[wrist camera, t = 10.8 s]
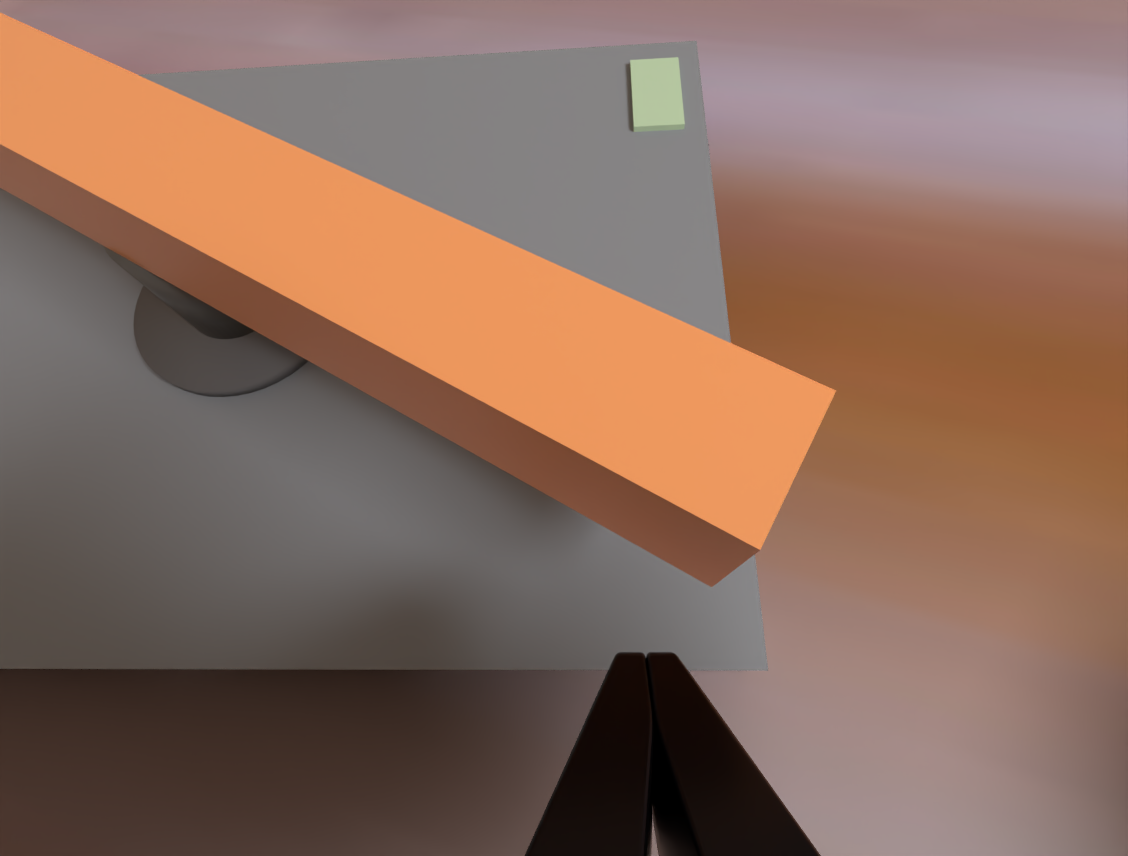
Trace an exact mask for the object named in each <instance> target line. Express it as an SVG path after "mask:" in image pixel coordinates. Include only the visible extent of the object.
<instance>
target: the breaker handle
mask: <svg viewBox="0 0 1128 856" xmlns="http://www.w3.org/2000/svg"><path fill="white" fill-rule="evenodd" d="M0 188H1V189H3V190H5V191H7V192H9V193H10V194H12V195H14V196H16V197H18V198H19V199H21V200H23V201H25V202H26V203H28V204H30V205H32V206H34V207H35V208H37V209H39V210H41V211H42V212H44V213H46V214H48V215H50V216H51V217H53V218H55V219H57V220H58V221H60V222H62V223H64V224H66V225H67V226H69V227H71V228H73V229H74V230H76V231H78V232H80V233H82V234H83V235H85V236H87V237H89V238H91V239H92V240H94V241H96V242H98V243H99V244H101V245H103V246H104V248H105V250H106V252H107V254H108V255H109V257H111V258H112V259H113V260H114V261H115V262H116V263H117V264H118V265H120V266H121V267H122V268H123V269H124V270H126V271H127V272H128V273H129V274H130V275H132V276H133V277H134V278H135V279H136V280H138V281H139V282H140V283H141V284H143V285H144V286H145V287H146V288H147V289H149V290H150V291H151V292H152V293H153V294H155V295H156V296H157V297H158V298H159V299H161V300H162V301H163V302H164V303H166V304H167V305H168V306H169V307H170V308H172V309H173V310H174V311H175V312H176V313H178V314H179V315H180V316H181V317H182V318H184V319H185V320H186V321H187V322H188V323H190V324H191V325H192V326H193V327H195V328H196V329H197V330H198V331H199V332H201V333H202V334H204V335H206V336H208V337H211V338H216V339H234V338H239V337H242V336H245V335H247V334H250V333H252V332H254V331H256V332H258V333H260V334H261V335H263V336H265V337H267V338H269V339H270V340H272V341H274V342H276V343H277V344H279V345H281V346H283V347H285V348H286V349H288V350H290V351H292V352H293V353H295V354H297V355H299V356H301V357H302V358H304V359H306V360H308V361H310V362H311V363H313V364H315V365H317V366H318V367H320V368H322V369H324V370H326V371H327V372H329V373H331V374H333V375H334V376H336V377H338V378H340V379H342V380H343V381H345V382H347V383H349V384H350V385H352V386H354V387H356V388H358V389H359V390H361V391H363V392H365V393H366V394H368V395H370V396H372V397H374V398H375V399H377V400H379V401H381V402H383V403H384V404H386V405H388V406H390V407H391V408H393V409H395V410H397V411H399V412H400V413H402V414H404V415H406V416H407V417H409V418H411V419H413V420H415V421H416V422H418V423H420V424H422V425H423V426H425V427H427V428H429V429H431V430H432V431H434V432H436V433H438V434H439V435H441V436H443V437H445V438H447V439H448V440H450V441H452V442H454V443H456V444H457V445H459V446H461V447H463V448H464V449H466V450H468V451H470V452H472V453H473V454H475V455H477V456H479V457H480V458H482V459H484V460H486V461H488V462H489V463H491V464H493V465H495V466H496V467H498V468H500V469H502V470H504V471H505V472H507V473H509V474H511V475H512V476H514V477H516V478H518V479H520V480H521V481H523V482H525V483H527V484H529V485H530V486H532V487H534V488H536V489H537V490H539V491H541V492H543V493H545V494H546V495H548V496H550V497H552V498H553V499H555V500H557V501H559V502H561V503H562V504H564V505H566V506H568V507H569V508H571V509H573V510H575V511H577V512H578V513H580V514H582V515H584V516H585V517H587V518H589V519H591V520H593V521H594V522H596V523H598V524H600V525H602V526H603V527H605V528H607V529H609V530H610V531H612V532H614V533H616V534H618V535H619V536H621V537H623V538H625V539H626V540H628V541H630V542H632V543H634V544H635V545H637V546H639V547H641V548H642V549H644V550H646V551H648V552H650V553H651V554H653V555H655V556H657V557H658V558H660V559H662V560H664V561H666V562H667V563H669V564H671V565H673V566H675V567H676V568H678V569H680V570H682V571H683V572H685V573H687V574H689V575H691V576H692V577H694V578H696V579H698V580H699V581H701V582H703V583H705V584H707V585H708V586H710V587H713V586H714V585H715V584H717V583H718V582H719V581H721V580H722V579H723V578H725V577H726V576H727V575H728V574H730V573H731V572H732V571H734V570H735V569H736V568H738V567H739V566H740V565H741V564H743V563H744V562H745V561H747V560H748V559H749V558H751V557H752V556H753V555H754V554H756V553H757V552H758V551H760V549H761V547H762V545H763V543H764V541H765V539H766V537H767V535H768V533H769V530H770V528H771V526H772V524H773V522H774V520H775V518H776V516H777V514H778V512H779V510H780V507H781V505H782V503H783V501H784V499H785V497H786V495H787V493H788V491H789V489H790V486H791V484H792V482H793V480H794V478H795V476H796V474H797V472H798V470H799V468H800V465H801V463H802V461H803V459H804V457H805V455H806V453H807V451H808V449H809V447H810V444H811V442H812V440H813V438H814V436H815V434H816V432H817V430H818V428H819V426H820V423H821V421H822V419H823V417H824V415H825V413H826V411H827V409H828V407H829V405H830V402H831V400H832V398H833V396H834V394H835V392H836V391H835V390H833V389H831V388H829V387H827V386H824V385H822V384H820V383H818V382H816V381H813V380H811V379H809V378H807V377H804V376H802V375H800V374H798V373H796V372H793V371H791V370H789V369H787V368H785V367H782V366H780V365H778V364H776V363H774V362H771V361H769V360H767V359H765V358H762V357H760V356H758V355H756V354H754V353H751V352H749V351H747V350H745V349H743V348H740V347H738V346H736V345H734V344H732V343H729V342H727V341H725V340H723V339H720V338H718V337H716V336H714V335H712V334H709V333H707V332H705V331H703V330H701V329H698V328H696V327H694V326H692V325H690V324H687V323H685V322H683V321H681V320H678V319H676V318H674V317H672V316H670V315H667V314H665V313H663V312H661V311H659V310H656V309H654V308H652V307H650V306H647V305H645V304H643V303H641V302H639V301H636V300H634V299H632V298H630V297H628V296H625V295H623V294H621V293H619V292H617V291H614V290H612V289H610V288H608V287H605V286H603V285H601V284H599V283H597V282H594V281H592V280H590V279H588V278H586V277H583V276H581V275H579V274H577V273H575V272H572V271H570V270H568V269H566V268H563V267H561V266H559V265H557V264H555V263H552V262H550V261H548V260H546V259H544V258H541V257H539V256H537V255H535V254H533V253H530V252H528V251H526V250H524V249H521V248H519V247H517V246H515V245H513V244H510V243H508V242H506V241H504V240H502V239H499V238H497V237H495V236H493V235H490V234H488V233H486V232H484V231H482V230H479V229H477V228H475V227H473V226H471V225H468V224H466V223H464V222H462V221H460V220H457V219H455V218H453V217H451V216H448V215H446V214H444V213H442V212H440V211H437V210H435V209H433V208H431V207H429V206H426V205H424V204H422V203H420V202H418V201H415V200H413V199H411V198H409V197H406V196H404V195H402V194H400V193H398V192H395V191H393V190H391V189H389V188H387V187H384V186H382V185H380V184H378V183H376V182H373V181H371V180H369V179H367V178H364V177H362V176H360V175H358V174H356V173H353V172H351V171H349V170H347V169H345V168H342V167H340V166H338V165H336V164H334V163H331V162H329V161H327V160H325V159H322V158H320V157H318V156H316V155H314V154H311V153H309V152H307V151H305V150H303V149H300V148H298V147H296V146H294V145H291V144H289V143H287V142H285V141H283V140H280V139H278V138H276V137H274V136H272V135H269V134H267V133H265V132H263V131H261V130H258V129H256V128H254V127H252V126H249V125H247V124H245V123H243V122H241V121H238V120H236V119H234V118H232V117H230V116H227V115H225V114H223V113H221V112H219V111H216V110H214V109H212V108H210V107H207V106H205V105H203V104H201V103H199V102H196V101H194V100H192V99H190V98H188V97H185V96H183V95H181V94H179V93H177V92H174V91H172V90H170V89H168V88H165V87H163V86H161V85H159V84H157V83H154V82H152V81H150V80H148V79H146V78H143V77H141V76H139V75H137V74H135V73H132V72H130V71H128V70H126V69H123V68H121V67H119V66H117V65H115V64H112V63H110V62H108V61H106V60H104V59H101V58H99V57H97V56H95V55H92V54H90V53H88V52H86V51H84V50H81V49H79V48H77V47H75V46H73V45H70V44H68V43H66V42H64V41H62V40H59V39H57V38H55V37H53V36H50V35H48V34H46V33H44V32H42V31H39V30H37V29H35V28H33V27H31V26H28V25H26V24H24V23H22V22H20V21H17V20H15V19H13V18H11V17H8V16H6V15H4V14H2V13H0Z"/></svg>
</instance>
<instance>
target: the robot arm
mask: <svg viewBox="0 0 1128 856" xmlns="http://www.w3.org/2000/svg"><path fill="white" fill-rule="evenodd" d="M652 811H653V822H654V829H655V835H656V842H657V848H658V853H659V856H821V855H820V854H819V852H818V851H817V850H816V848H815V847H814V846H813V844H812V843H811V841H810V840H809V839H808V837H807V836H806V834H805V833H804V832H803V830H802V829H801V827H800V826H799V825H798V823H797V822H796V820H795V819H794V818H793V816H792V815H791V813H790V812H789V811H788V809H787V808H786V806H785V805H784V804H783V802H782V801H781V799H780V798H779V797H778V795H777V794H776V792H775V791H774V790H773V788H772V787H771V786H770V784H769V783H768V781H767V780H766V779H765V777H764V776H763V774H762V773H761V772H760V770H759V769H758V767H757V766H756V765H755V763H754V762H753V760H752V759H751V758H750V756H749V755H748V753H747V752H746V751H745V749H744V748H743V746H742V745H741V744H740V742H739V741H738V739H737V738H736V737H735V735H734V734H733V732H732V731H731V730H730V728H729V727H728V726H727V724H726V723H725V721H724V720H723V719H722V717H721V716H720V714H719V713H718V712H717V710H716V709H715V707H714V706H713V705H712V703H711V702H710V700H709V699H708V698H707V696H706V695H705V693H704V692H703V691H702V689H701V688H700V686H699V685H698V684H697V682H696V681H695V679H694V678H693V677H692V675H691V674H690V672H689V671H688V670H687V668H686V667H685V666H684V664H683V663H682V661H681V660H680V659H679V657H678V656H677V655H676V654H675V653H673V652H649V653H647V655H646V657H645V655H644V653H642V652H618V653H617V654H616V655H615V656H614V659H613V661H612V663H611V665H610V667H609V670H608V672H607V674H606V676H605V678H604V681H603V683H602V685H601V687H600V690H599V692H598V694H597V696H596V698H595V701H594V703H593V705H592V707H591V710H590V712H589V714H588V716H587V718H586V721H585V723H584V725H583V727H582V730H581V732H580V734H579V736H578V738H577V741H576V743H575V745H574V747H573V750H572V752H571V754H570V756H569V758H568V761H567V763H566V765H565V767H564V769H563V772H562V774H561V776H560V778H559V781H558V783H557V785H556V787H555V789H554V792H553V794H552V796H551V798H550V801H549V803H548V805H547V807H546V809H545V812H544V814H543V816H542V818H541V821H540V823H539V825H538V827H537V829H536V832H535V834H534V836H533V838H532V841H531V843H530V845H529V847H528V849H527V852H526V854H525V856H651V848H652Z"/></svg>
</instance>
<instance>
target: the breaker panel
mask: <svg viewBox="0 0 1128 856" xmlns="http://www.w3.org/2000/svg"><path fill="white" fill-rule="evenodd" d="M139 76H141V77H143V78H146V79H148V80H150V81H152V82H154V83H157V84H159V85H161V86H163V87H165V88H168V89H170V90H172V91H174V92H177V93H179V94H181V95H183V96H185V97H188V98H190V99H192V100H194V101H196V102H199V103H201V104H203V105H205V106H207V107H210V108H212V109H214V110H216V111H219V112H221V113H223V114H225V115H227V116H230V117H232V118H234V119H236V120H238V121H241V122H243V123H245V124H247V125H249V126H252V127H254V128H256V129H258V130H261V131H263V132H265V133H267V134H269V135H272V136H274V137H276V138H278V139H280V140H283V141H285V142H287V143H289V144H291V145H294V146H296V147H298V148H300V149H303V150H305V151H307V152H309V153H311V154H314V155H316V156H318V157H320V158H322V159H325V160H327V161H329V162H331V163H334V164H336V165H338V166H340V167H342V168H345V169H347V170H349V171H351V172H353V173H356V174H358V175H360V176H362V177H364V178H367V179H369V180H371V181H373V182H376V183H378V184H380V185H382V186H384V187H387V188H389V189H391V190H393V191H395V192H398V193H400V194H402V195H404V196H406V197H409V198H411V199H413V200H415V201H418V202H420V203H422V204H424V205H426V206H429V207H431V208H433V209H435V210H437V211H440V212H442V213H444V214H446V215H448V216H451V217H453V218H455V219H457V220H460V221H462V222H464V223H466V224H468V225H471V226H473V227H475V228H477V229H479V230H482V231H484V232H486V233H488V234H490V235H493V236H495V237H497V238H499V239H502V240H504V241H506V242H508V243H510V244H513V245H515V246H517V247H519V248H521V249H524V250H526V251H528V252H530V253H533V254H535V255H537V256H539V257H541V258H544V259H546V260H548V261H550V262H552V263H555V264H557V265H559V266H561V267H563V268H566V269H568V270H570V271H572V272H575V273H577V274H579V275H581V276H583V277H586V278H588V279H590V280H592V281H594V282H597V283H599V284H601V285H603V286H605V287H608V288H610V289H612V290H614V291H617V292H619V293H621V294H623V295H625V296H628V297H630V298H632V299H634V300H636V301H639V302H641V303H643V304H645V305H647V306H650V307H652V308H654V309H656V310H659V311H661V312H663V313H665V314H667V315H670V316H672V317H674V318H676V319H678V320H681V321H683V322H685V323H687V324H690V325H692V326H694V327H696V328H698V329H701V330H703V331H705V332H707V333H709V334H712V335H714V336H716V337H718V338H720V339H723V340H725V341H727V342H729V343H731V341H730V332H729V323H728V314H727V305H726V297H725V288H724V279H723V270H722V262H721V253H720V244H719V235H718V226H717V218H716V209H715V200H714V191H713V182H712V174H711V165H710V156H709V147H708V139H707V130H706V121H705V112H704V103H703V95H702V86H701V77H700V68H699V60H698V51H697V42H696V41H687V42H671V43H654V44H638V45H621V46H605V47H588V48H572V49H556V50H539V51H523V52H506V53H490V54H473V55H457V56H441V57H424V58H408V59H391V60H375V61H358V62H342V63H326V64H309V65H293V66H276V67H260V68H243V69H227V70H211V71H194V72H178V73H161V74H145V75H139ZM618 652H642V653H644V655H645V657H646V655H647V653H649V652H673V653H675V654H676V655H677V656H678V657H679V659H680V660H681V661H682V663H683V664H684V666H685V667H686V668H687V670H765V671H768V665H767V657H766V648H765V639H764V630H763V622H762V613H761V604H760V595H759V586H758V578H757V569H756V560H755V554H754V555H753V556H752V557H751V558H749V559H748V560H747V561H745V562H744V563H743V564H741V565H740V566H739V567H738V568H736V569H735V570H734V571H732V572H731V573H730V574H728V575H727V576H726V577H725V578H723V579H722V580H721V581H719V582H718V583H717V584H715V585H714V586H713V587H710V586H708V585H707V584H705V583H703V582H701V581H699V580H698V579H696V578H694V577H692V576H691V575H689V574H687V573H685V572H683V571H682V570H680V569H678V568H676V567H675V566H673V565H671V564H669V563H667V562H666V561H664V560H662V559H660V558H658V557H657V556H655V555H653V554H651V553H650V552H648V551H646V550H644V549H642V548H641V547H639V546H637V545H635V544H634V543H632V542H630V541H628V540H626V539H625V538H623V537H621V536H619V535H618V534H616V533H614V532H612V531H610V530H609V529H607V528H605V527H603V526H602V525H600V524H598V523H596V522H594V521H593V520H591V519H589V518H587V517H585V516H584V515H582V514H580V513H578V512H577V511H575V510H573V509H571V508H569V507H568V506H566V505H564V504H562V503H561V502H559V501H557V500H555V499H553V498H552V497H550V496H548V495H546V494H545V493H543V492H541V491H539V490H537V489H536V488H534V487H532V486H530V485H529V484H527V483H525V482H523V481H521V480H520V479H518V478H516V477H514V476H512V475H511V474H509V473H507V472H505V471H504V470H502V469H500V468H498V467H496V466H495V465H493V464H491V463H489V462H488V461H486V460H484V459H482V458H480V457H479V456H477V455H475V454H473V453H472V452H470V451H468V450H466V449H464V448H463V447H461V446H459V445H457V444H456V443H454V442H452V441H450V440H448V439H447V438H445V437H443V436H441V435H439V434H438V433H436V432H434V431H432V430H431V429H429V428H427V427H425V426H423V425H422V424H420V423H418V422H416V421H415V420H413V419H411V418H409V417H407V416H406V415H404V414H402V413H400V412H399V411H397V410H395V409H393V408H391V407H390V406H388V405H386V404H384V403H383V402H381V401H379V400H377V399H375V398H374V397H372V396H370V395H368V394H366V393H365V392H363V391H361V390H359V389H358V388H356V387H354V386H352V385H350V384H349V383H347V382H345V381H343V380H342V379H340V378H338V377H336V376H334V375H333V374H331V373H329V372H327V371H326V370H324V369H322V368H320V367H318V366H317V365H315V364H313V363H311V362H310V361H308V360H306V359H304V358H302V357H301V356H299V355H297V354H295V353H293V352H292V351H290V350H288V349H286V348H285V347H283V346H281V345H279V344H277V343H276V342H274V341H272V340H270V339H269V338H267V337H265V336H263V335H261V334H260V333H258V332H256V331H254V332H252V333H250V334H247V335H245V336H242V337H239V338H234V339H216V338H211V337H208V336H206V335H204V334H202V333H201V332H199V331H198V330H197V329H196V328H195V327H193V326H192V325H191V324H190V323H188V322H187V321H186V320H185V319H184V318H182V317H181V316H180V315H179V314H178V313H176V312H175V311H174V310H173V309H172V308H170V307H169V306H168V305H167V304H166V303H164V302H163V301H162V300H161V299H159V298H158V297H157V296H156V295H155V294H153V293H152V292H151V291H150V290H149V289H147V288H146V287H145V286H144V285H143V284H141V283H140V282H139V281H138V280H136V279H135V278H134V277H133V276H132V275H130V274H129V273H128V272H127V271H126V270H124V269H123V268H122V267H121V266H120V265H118V264H117V263H116V262H115V261H114V260H113V259H112V258H111V257H109V255H108V254H107V252H106V250H105V248H104V246H103V245H101V244H99V243H98V242H96V241H94V240H92V239H91V238H89V237H87V236H85V235H83V234H82V233H80V232H78V231H76V230H74V229H73V228H71V227H69V226H67V225H66V224H64V223H62V222H60V221H58V220H57V219H55V218H53V217H51V216H50V215H48V214H46V213H44V212H42V211H41V210H39V209H37V208H35V207H34V206H32V205H30V204H28V203H26V202H25V201H23V200H21V199H19V198H18V197H16V196H14V195H12V194H10V193H9V192H7V191H5V190H3V189H1V188H0V669H317V670H609V667H610V665H611V663H612V661H613V659H614V656H615V655H616V654H617V653H618Z"/></svg>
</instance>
